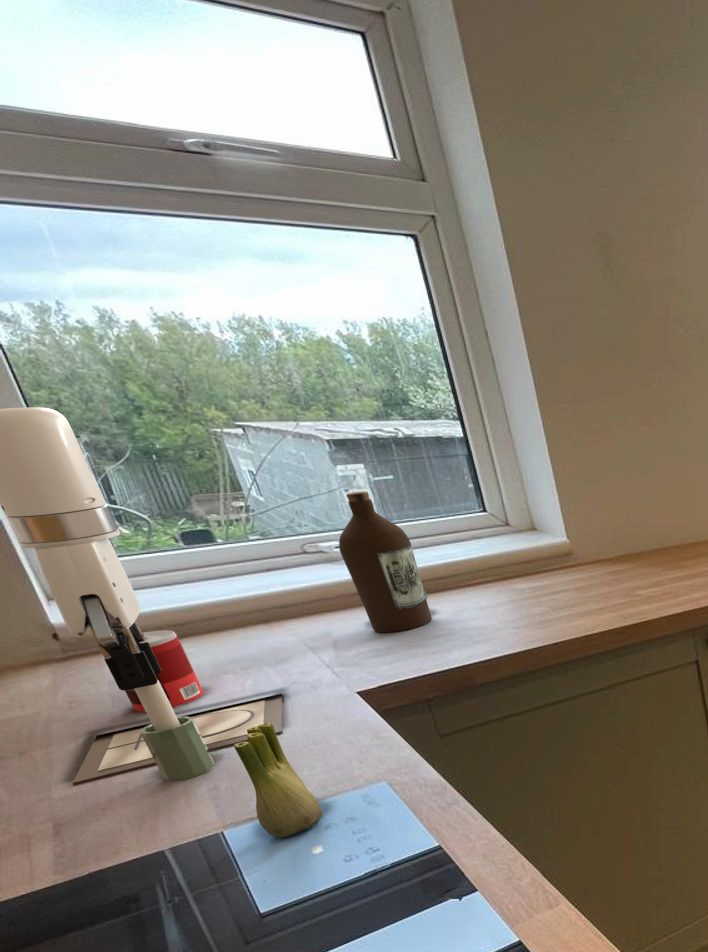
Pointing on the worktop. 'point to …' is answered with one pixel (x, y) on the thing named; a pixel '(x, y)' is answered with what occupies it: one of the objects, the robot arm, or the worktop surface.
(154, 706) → the cylinder
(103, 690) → the worktop surface
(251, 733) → the fennel bulb
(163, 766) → the pen cup
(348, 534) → the brown stoneware bottle
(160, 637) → the canned food
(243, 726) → the framed abstract picture
